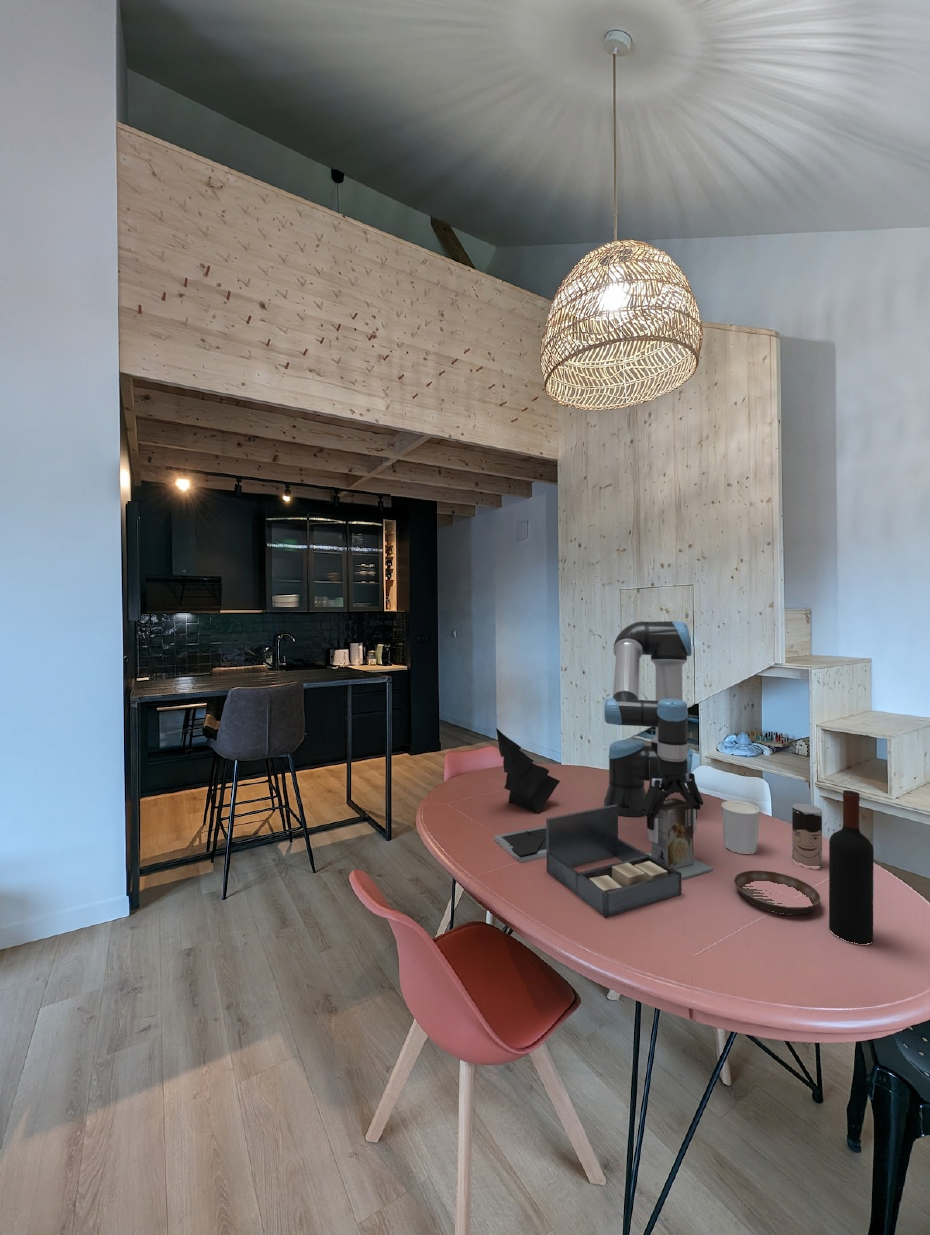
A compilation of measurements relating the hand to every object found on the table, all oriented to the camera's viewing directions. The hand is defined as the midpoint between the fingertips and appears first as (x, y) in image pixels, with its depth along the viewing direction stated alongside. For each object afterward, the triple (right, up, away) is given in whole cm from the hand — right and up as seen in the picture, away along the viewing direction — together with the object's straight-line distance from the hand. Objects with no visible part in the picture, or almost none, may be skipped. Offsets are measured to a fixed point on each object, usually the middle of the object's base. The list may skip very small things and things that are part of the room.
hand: (672, 836), depth 144 cm
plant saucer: (+18, -8, -17) cm, 26 cm away
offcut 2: (-10, -8, -12) cm, 17 cm away
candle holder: (+23, -8, +10) cm, 26 cm away
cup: (+36, -8, 0) cm, 37 cm away
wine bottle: (+25, -8, -31) cm, 41 cm away
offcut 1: (-23, -8, -18) cm, 30 cm away
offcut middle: (-16, -8, -15) cm, 23 cm away
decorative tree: (-36, -8, +42) cm, 56 cm away
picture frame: (-34, -9, +13) cm, 38 cm away
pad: (0, -8, 0) cm, 8 cm away
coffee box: (0, -7, 0) cm, 7 cm away
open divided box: (-19, -8, -9) cm, 22 cm away
